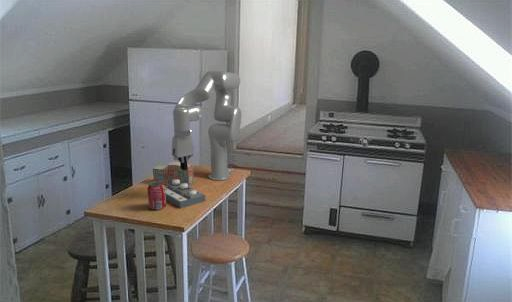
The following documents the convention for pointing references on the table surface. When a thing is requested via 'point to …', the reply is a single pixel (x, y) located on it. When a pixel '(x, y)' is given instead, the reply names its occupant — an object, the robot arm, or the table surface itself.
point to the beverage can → (156, 195)
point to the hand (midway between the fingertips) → (184, 169)
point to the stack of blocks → (173, 173)
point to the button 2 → (192, 192)
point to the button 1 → (175, 182)
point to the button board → (182, 196)
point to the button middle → (183, 186)
